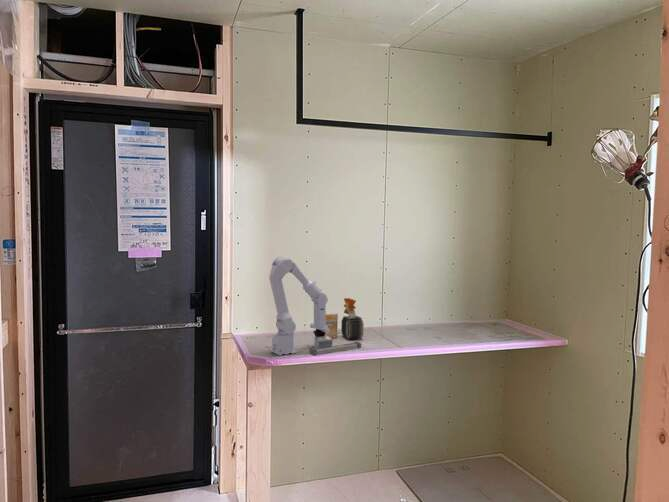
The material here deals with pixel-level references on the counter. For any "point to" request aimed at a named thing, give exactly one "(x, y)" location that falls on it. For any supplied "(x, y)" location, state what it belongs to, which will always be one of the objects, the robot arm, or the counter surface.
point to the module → (322, 342)
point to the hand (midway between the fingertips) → (319, 345)
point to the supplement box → (332, 324)
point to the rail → (335, 348)
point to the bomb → (351, 322)
